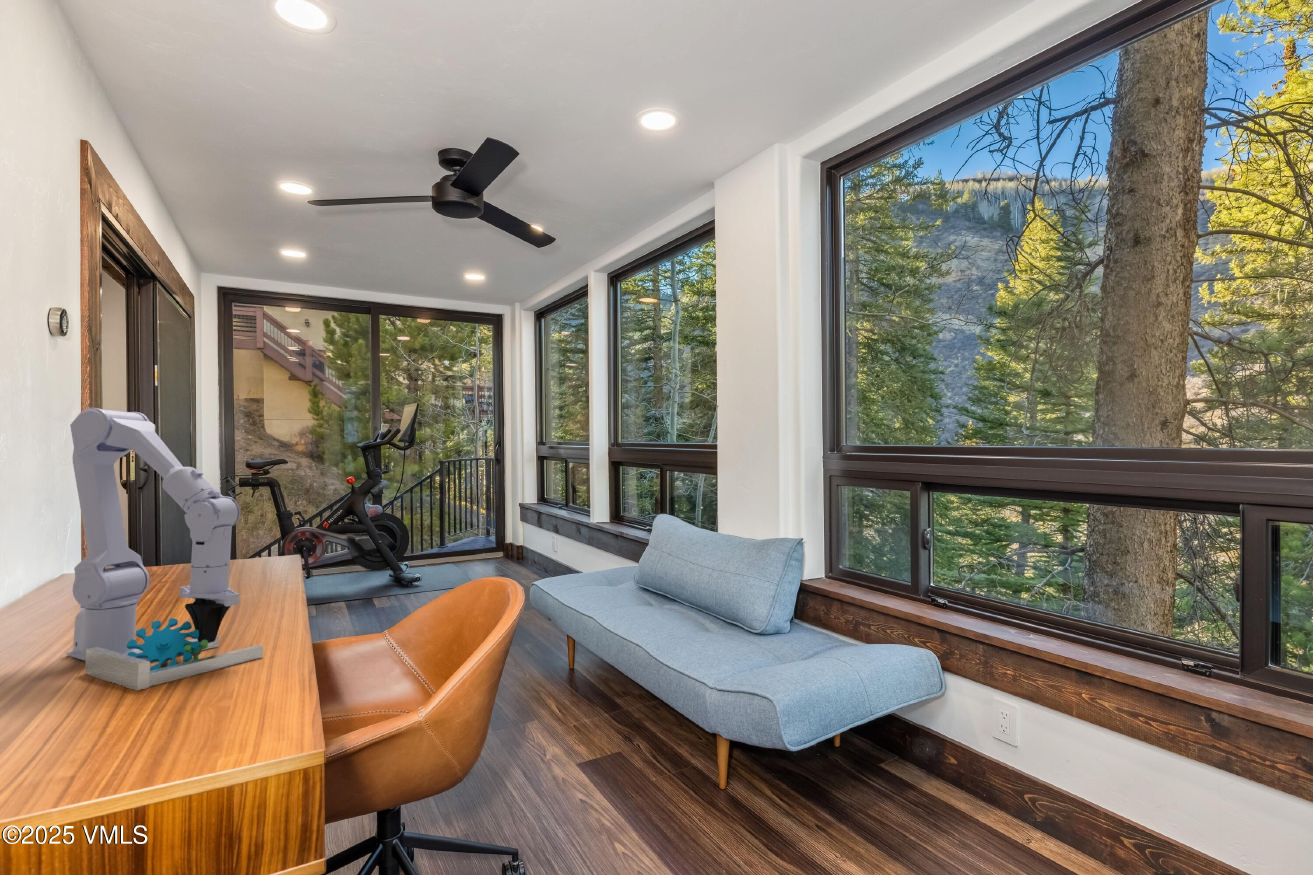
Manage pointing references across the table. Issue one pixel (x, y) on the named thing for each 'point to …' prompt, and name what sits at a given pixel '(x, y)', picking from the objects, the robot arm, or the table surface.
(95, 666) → the rail dock
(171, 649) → the gear
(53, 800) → the table surface
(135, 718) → the table surface
